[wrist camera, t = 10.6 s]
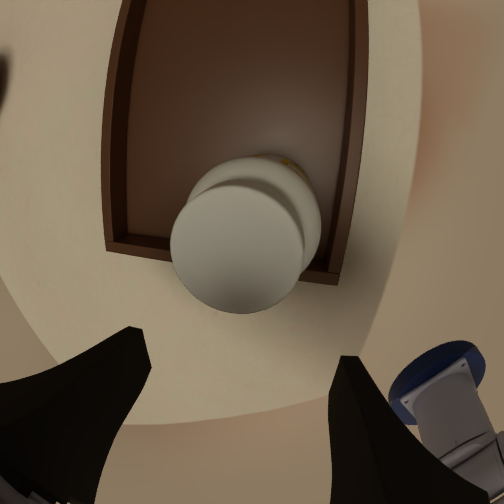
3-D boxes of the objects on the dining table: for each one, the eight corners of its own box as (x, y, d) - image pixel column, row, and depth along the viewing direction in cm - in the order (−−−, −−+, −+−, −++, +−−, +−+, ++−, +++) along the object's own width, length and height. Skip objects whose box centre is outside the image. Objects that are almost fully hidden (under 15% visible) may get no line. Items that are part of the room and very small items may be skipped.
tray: (332, 268, 18) (337, 286, 16) (124, 239, 20) (105, 251, 18) (351, -76, 7) (354, -93, 5) (167, -72, 9) (156, -85, 7)
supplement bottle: (323, 168, 16) (358, 195, 7) (297, 249, 18) (295, 350, 9) (236, 143, 16) (164, 142, 7) (216, 225, 18) (144, 302, 9)
